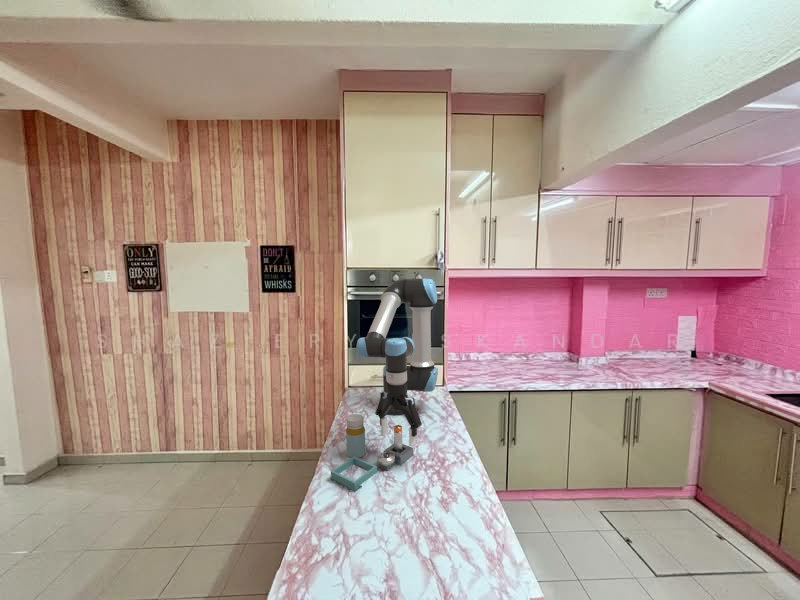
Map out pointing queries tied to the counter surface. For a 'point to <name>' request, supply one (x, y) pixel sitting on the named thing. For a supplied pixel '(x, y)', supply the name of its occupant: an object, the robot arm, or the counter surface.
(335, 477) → the tray
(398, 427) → the pin
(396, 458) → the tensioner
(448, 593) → the counter surface
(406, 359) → the robot arm
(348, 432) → the bottle
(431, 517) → the counter surface
